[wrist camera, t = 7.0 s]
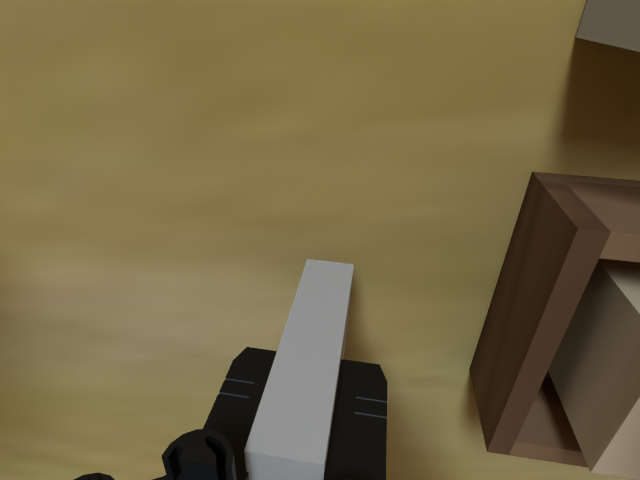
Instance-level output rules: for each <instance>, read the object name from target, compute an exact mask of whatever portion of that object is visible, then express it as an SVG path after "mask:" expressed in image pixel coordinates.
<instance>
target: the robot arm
mask: <svg viewBox="0 0 640 480" xmlns="http://www.w3.org/2000/svg"><path fill="white" fill-rule="evenodd" d="M353 270H354V264H346V263H338V262H329V261H320V260H312V259H307V261H306V264H305V268H304V271H303V274H302V277H301V280H300V283H299V286H298V289H297V292H296V295H295V298H294V301H293V304H292V307H291V310H290V313H289V316H288V319H287V322H286V325H285V328H284V331H283V334H282V337H281V341H280V344H279V347H278V350H277V351H271V350H264V349H257V348H250V347H247V348H246V349H244V350H243V351H242V352H241V353H240V354H239V355H238V356H237V357H236V358H235V359H234V360H233V362H232V364H231V366H230V369H229V371H228V373H227V375H226V379H225V381H224V382H223V385H222V387H221V389H220V393H219V395H218V396H217V398H216V400H215V403H214V405H213V407H212V410H211V412H210V414H209V416H208V419H207V421H206V423H205V425H204V428H203V429H197V430H194V431H191V432H188V433H185V434H183V435H181V436H180V437H179V438H177V439H176V440H175V441H173V442H172V443H171V444H170V445H169V446H168V448H167V449H166V450H165V452H164V453H163V455H162V460H163V463H164V467H165V471H166V475H165V476H163V477H160V478H156V479H153V480H386V431H387V420H386V418H387V380H386V378H385V376H384V374H383V371H382V369H381V367H380V365H378V364H371V363H364V362H357V361H350V360H344V354H345V346H346V339H347V332H348V322H349V312H350V301H351V291H352V280H353ZM74 480H114V479H113V478H112V477H111V476H110V475H106V474H102V473H93V474H87V475H83V476H80V477H78V478H76V479H74Z"/></svg>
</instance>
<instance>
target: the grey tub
mask: <svg viewBox="0 0 640 480" xmlns="http://www.w3.org/2000/svg"><path fill="white" fill-rule="evenodd" d="M576 38H581V39H585V40H590V41H594V42H598V43H603V44H607V45H611V46H616V47H620V48H625V49H629V50H633V51H638V52H640V0H587V3H586V6H585V9H584V12H583V16H582V19H581V22H580V25H579V28H578V31H577V34H576Z"/></svg>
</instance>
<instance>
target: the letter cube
mask: <svg viewBox="0 0 640 480" xmlns="http://www.w3.org/2000/svg"><path fill="white" fill-rule="evenodd" d="M548 372H549V374H550V377H551V379H552V381H553V384H554V386H555V388H556V391H557V393H558V396H559V398H560V400H561V403H562V405H563V408H564V410H565V412H566V415H567V417H568V420H569V422H570V424H571V427H572V429H573V432H574V434H575V436H576V439H577V441H578V444H579V446H580V448H581V451H582V453H583V455H584V458H585V460H586V463H587V465H588V467H589V470H590V472H591V473H597V474H603V475H610V476H616V477H623V478H629V479H635V480H640V262H631V261H621V260H612V259H602V258H599V260H598V262H597V264H596V266H595V268H594V271H593V273H592V275H591V277H590V279H589V281H588V284H587V286H586V288H585V290H584V292H583V295H582V297H581V299H580V301H579V303H578V306H577V308H576V310H575V312H574V314H573V316H572V319H571V321H570V323H569V325H568V327H567V330H566V332H565V334H564V336H563V338H562V341H561V343H560V345H559V347H558V349H557V351H556V354H555V356H554V358H553V360H552V362H551V365H550V367H549V369H548Z"/></svg>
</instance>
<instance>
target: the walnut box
mask: <svg viewBox="0 0 640 480" xmlns="http://www.w3.org/2000/svg"><path fill="white" fill-rule="evenodd" d="M599 258H602V259H612V260H621V261H631V262H640V181H633V180H621V179H609V178H598V177H586V176H574V175H562V174H551V173H539V172H532V176H531V179H530V182H529V185H528V188H527V191H526V194H525V198H524V201H523V204H522V207H521V210H520V213H519V216H518V220H517V223H516V226H515V229H514V232H513V235H512V238H511V242H510V245H509V248H508V251H507V254H506V257H505V260H504V264H503V267H502V270H501V273H500V276H499V279H498V282H497V286H496V289H495V292H494V295H493V298H492V301H491V304H490V308H489V311H488V314H487V317H486V320H485V323H484V326H483V330H482V333H481V336H480V339H479V342H478V345H477V348H476V352H475V355H474V358H473V361H472V364H471V367H470V373H471V378H472V383H473V387H474V392H475V397H476V402H477V407H478V411H479V416H480V421H481V426H482V430H483V435H484V440H485V445H486V449H487V452H492V453H499V454H505V455H512V456H518V457H525V458H531V459H537V460H544V461H550V462H557V463H563V464H569V465H576V466H582V467H588V465H587V463H586V460H585V458H584V455H583V453H582V451H581V448H580V446H579V444H578V441H577V439H576V436H575V434H574V432H573V429H572V427H571V424H570V422H569V420H568V417H567V415H566V412H565V410H564V408H563V405H562V403H561V400H560V398H559V396H558V393H557V391H556V388H555V386H554V384H553V381H552V379H551V377H550V374H549V372H548V369H549V367H550V365H551V362H552V360H553V358H554V356H555V354H556V351H557V349H558V347H559V345H560V343H561V341H562V338H563V336H564V334H565V332H566V330H567V327H568V325H569V323H570V321H571V319H572V316H573V314H574V312H575V310H576V308H577V306H578V303H579V301H580V299H581V297H582V295H583V292H584V290H585V288H586V286H587V284H588V281H589V279H590V277H591V275H592V273H593V271H594V268H595V266H596V264H597V262H598V260H599Z"/></svg>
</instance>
